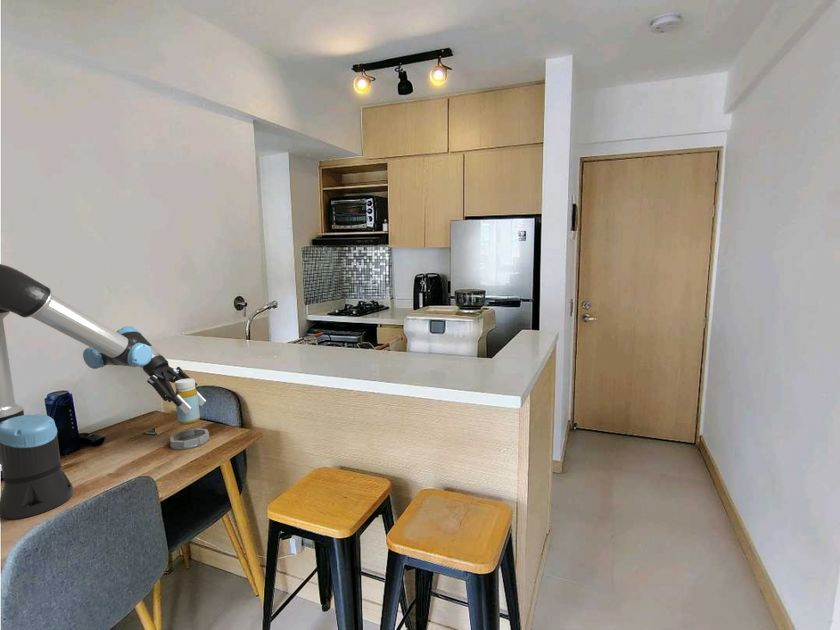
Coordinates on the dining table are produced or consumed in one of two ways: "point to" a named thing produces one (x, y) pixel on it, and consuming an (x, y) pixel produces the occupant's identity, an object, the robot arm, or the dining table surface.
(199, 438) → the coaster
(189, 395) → the bottle
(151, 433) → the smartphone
